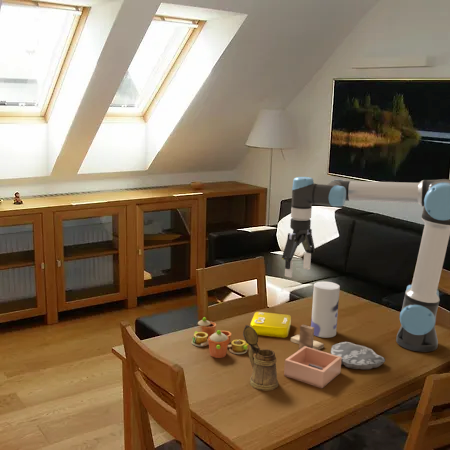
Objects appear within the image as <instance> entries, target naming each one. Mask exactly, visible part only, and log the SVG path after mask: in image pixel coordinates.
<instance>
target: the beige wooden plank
mask: <svg viewBox="0 0 450 450" xmlns="http://www.w3.org/2000/svg"><path fill="white" fill-rule="evenodd" d="M299 338H300V334H296V335H294V336H291V337H290V342H292V343H294V344H297V345H299ZM324 347H325V344H324V343H323V342H320V341H317V340H314V339H313V349H316V350H320V351H321V349H323V348H324Z"/></svg>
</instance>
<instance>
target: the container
mask: <svg viewBox="0 0 450 450" xmlns="http://www.w3.org/2000/svg"><path fill="white" fill-rule="evenodd" d="M340 287H341V286H340V285H339V284H338V283H335V282H332V281H317V282H314V284H313V289H312V290H313V293H312V306H311V308H312V309H311V323H310V326H311V327H314V336H315V337H318V338H327V339H329V338H334V337H335V336H336V335H337V327H338V316H339V315H338V314H339V313H338V312H339V300H340V289H341V288H340Z"/></svg>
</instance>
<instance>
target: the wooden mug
mask: <svg viewBox="0 0 450 450" xmlns="http://www.w3.org/2000/svg"><path fill="white" fill-rule="evenodd" d="M242 333H243V334H242V337H243V340H244V341H245V342H246V343H247V344H248V346H249V349H248V358H249V362H250V364H251V367H252V373H251V376H250V379H249V385H250V386H251V387H252V388H255V389H257V390H258V391H259V390H260V391H273V390H275V389H277V388H278V387H279V381H278V372H277V357H276V352H275V351H273V350H271V349H261V348H260V347H259V345H258V342H259V335H257V333H256V331H255V330H254V328H252V327H251V326H250V325H248V324H245V326H244V328H243V332H242Z"/></svg>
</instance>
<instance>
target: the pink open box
mask: <svg viewBox="0 0 450 450" xmlns="http://www.w3.org/2000/svg"><path fill="white" fill-rule="evenodd" d="M341 360H342V357H340V356H336V355H333V354H331V352H326V351H322V350H321V349H320V350H316V349H313V348H310V347H306V346H304V347H303V348H301V349H300V350H299V349H298V350H297V351H296V352H294V353H293V354H291V355H290V356H289V357H287V358H285V359H284V371H283V372H284V373H283V376H284V377H286V378H289V379H292V380H295V381H298V382H302V383H305V384H308V385H310V386H312V387H317V388H319V389H323V388H325V386H327V385H328V384H329V383H331V381H333V380H334V379H335V378H336V377H337V376H338V375H340V374H341V371H342V370H341V368H342V364H341Z"/></svg>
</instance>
